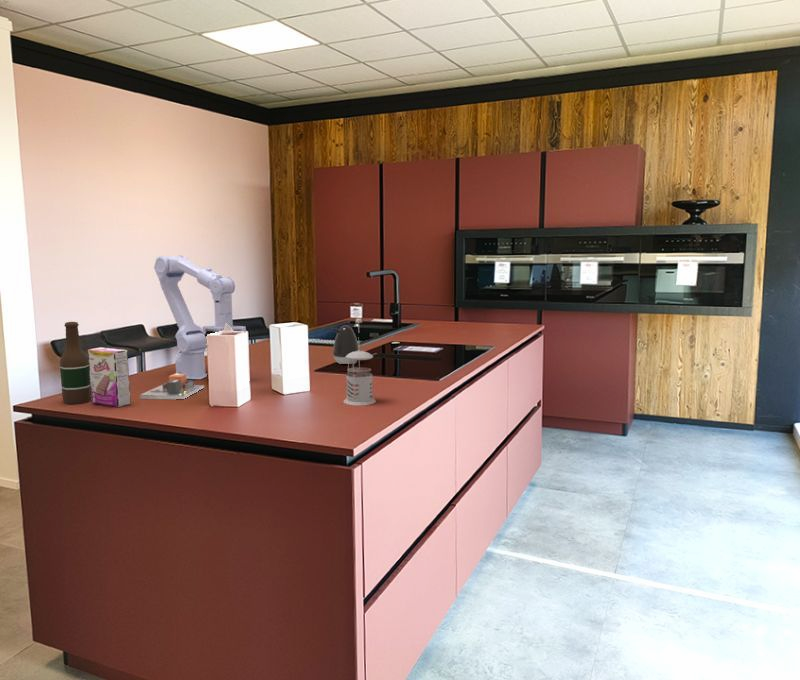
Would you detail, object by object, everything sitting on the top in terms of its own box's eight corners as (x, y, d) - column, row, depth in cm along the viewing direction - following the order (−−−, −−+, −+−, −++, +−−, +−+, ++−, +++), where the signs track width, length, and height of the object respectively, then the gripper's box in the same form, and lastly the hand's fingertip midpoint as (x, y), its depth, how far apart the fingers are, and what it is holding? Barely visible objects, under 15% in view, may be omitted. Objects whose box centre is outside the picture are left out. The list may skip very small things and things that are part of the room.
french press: (351, 406, 189) (349, 321, 185) (336, 398, 199) (334, 317, 195) (381, 403, 193) (381, 319, 190) (365, 395, 203) (364, 315, 200)
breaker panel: (140, 398, 199) (139, 389, 199) (163, 387, 214) (162, 379, 214) (183, 399, 198) (183, 391, 197) (204, 388, 213) (203, 380, 212)
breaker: (167, 392, 201) (166, 381, 201) (172, 390, 205) (171, 379, 204) (176, 392, 201) (175, 382, 200) (181, 390, 204) (180, 379, 204)
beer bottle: (97, 399, 198) (91, 321, 195) (77, 405, 191) (71, 324, 188) (77, 397, 201) (71, 320, 198) (56, 403, 194) (50, 323, 190)
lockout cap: (169, 388, 208) (168, 375, 207) (175, 385, 212) (174, 372, 211) (181, 388, 207) (180, 375, 207) (186, 386, 211) (186, 372, 211)
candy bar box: (90, 404, 193) (86, 349, 190) (104, 400, 197) (100, 346, 195) (118, 408, 188) (114, 351, 186) (131, 404, 193) (128, 349, 190)
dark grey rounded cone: (332, 361, 261) (331, 324, 259) (358, 361, 262) (358, 323, 260) (332, 366, 251) (332, 327, 249) (359, 365, 252) (359, 326, 250)
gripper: (198, 314, 217) (199, 354, 219) (240, 315, 215) (241, 355, 217) (206, 312, 224) (208, 351, 226) (247, 312, 222) (248, 352, 224)
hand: (225, 353), depth 222 cm, fingers open, 7 cm apart
